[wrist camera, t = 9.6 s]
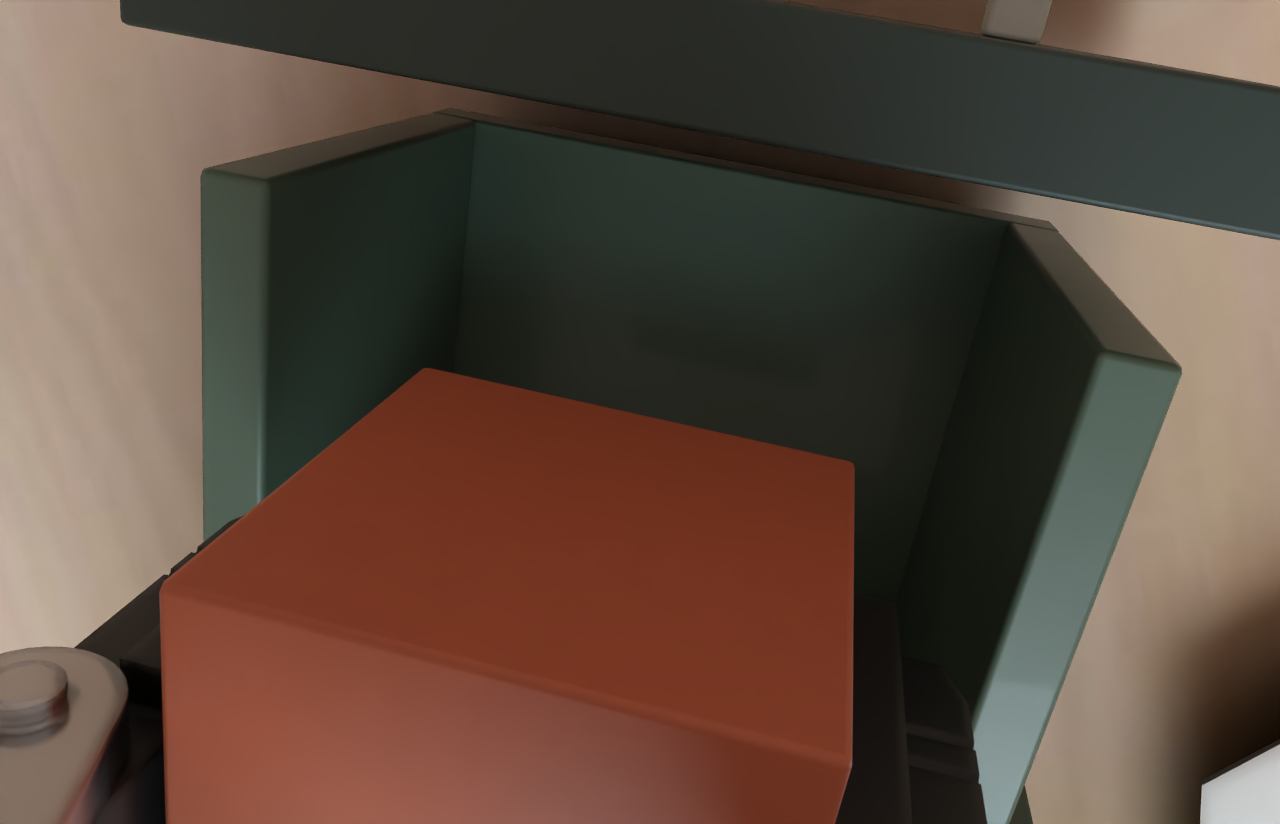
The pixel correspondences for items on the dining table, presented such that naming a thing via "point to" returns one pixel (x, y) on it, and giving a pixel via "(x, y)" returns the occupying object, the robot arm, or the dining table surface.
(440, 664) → the block
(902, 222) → the drawer
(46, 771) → the robot arm
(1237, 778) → the plate
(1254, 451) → the dining table surface
